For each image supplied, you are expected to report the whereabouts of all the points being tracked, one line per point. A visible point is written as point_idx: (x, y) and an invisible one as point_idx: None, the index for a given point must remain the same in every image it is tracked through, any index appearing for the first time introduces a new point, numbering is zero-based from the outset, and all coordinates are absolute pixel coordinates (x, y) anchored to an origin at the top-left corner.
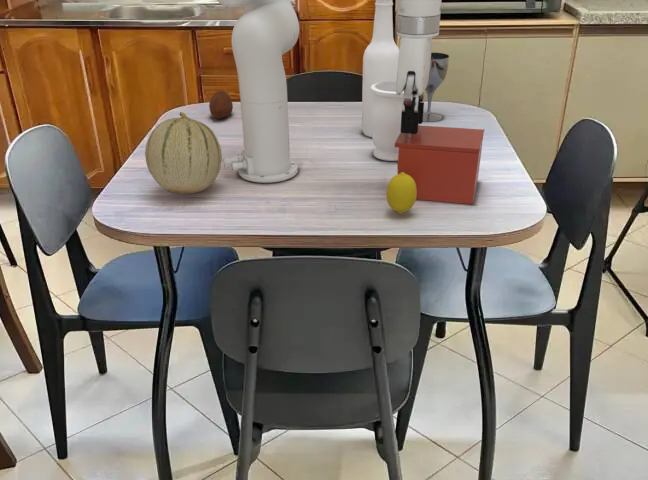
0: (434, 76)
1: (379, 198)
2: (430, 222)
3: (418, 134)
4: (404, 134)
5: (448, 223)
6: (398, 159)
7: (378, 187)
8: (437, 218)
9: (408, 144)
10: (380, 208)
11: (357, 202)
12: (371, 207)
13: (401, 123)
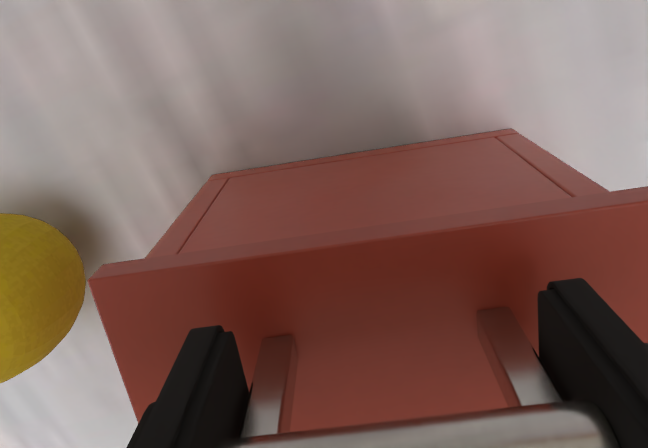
0: None
1: (165, 100)
2: (46, 371)
3: (395, 388)
4: (354, 285)
5: (75, 425)
6: (147, 256)
7: (303, 39)
8: (95, 384)
9: (125, 381)
10: (57, 148)
11: (59, 8)
12: (44, 103)
13: (166, 386)
